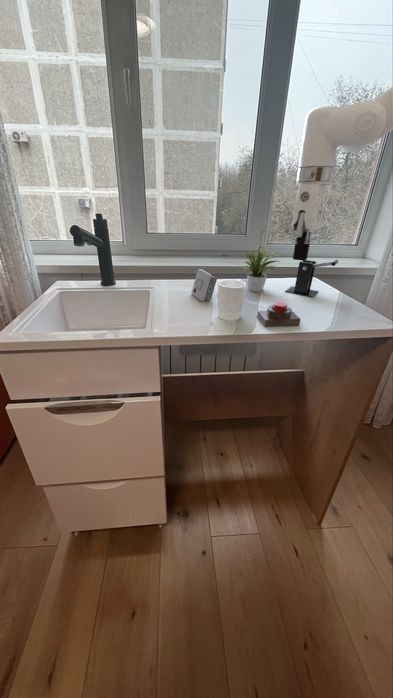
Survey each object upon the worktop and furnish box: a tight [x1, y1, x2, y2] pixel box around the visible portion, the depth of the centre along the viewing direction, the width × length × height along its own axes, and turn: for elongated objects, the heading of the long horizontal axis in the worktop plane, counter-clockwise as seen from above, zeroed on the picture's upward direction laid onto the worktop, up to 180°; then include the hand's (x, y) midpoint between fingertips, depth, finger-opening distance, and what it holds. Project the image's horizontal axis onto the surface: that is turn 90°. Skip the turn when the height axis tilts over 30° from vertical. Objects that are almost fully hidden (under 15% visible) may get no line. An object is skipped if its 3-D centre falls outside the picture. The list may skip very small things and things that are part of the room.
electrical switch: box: [191, 268, 218, 303], centre depth 98 cm, size 9×5×9 cm, turn 22°
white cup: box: [217, 279, 247, 322], centre depth 82 cm, size 8×8×10 cm
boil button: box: [273, 301, 288, 312], centre depth 80 cm, size 4×4×2 cm
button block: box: [256, 304, 301, 328], centre depth 81 cm, size 10×7×4 cm
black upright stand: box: [284, 259, 319, 298], centre depth 102 cm, size 10×8×12 cm
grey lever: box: [310, 259, 339, 268], centre depth 98 cm, size 11×5×2 cm, turn 56°
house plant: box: [243, 245, 281, 292], centre depth 102 cm, size 14×14×16 cm
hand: (299, 259), depth 74 cm, fingers closed
